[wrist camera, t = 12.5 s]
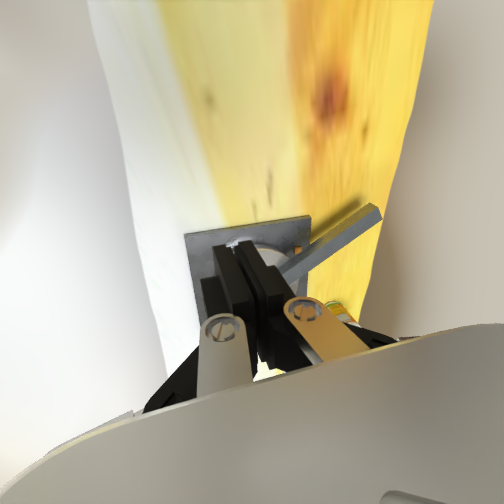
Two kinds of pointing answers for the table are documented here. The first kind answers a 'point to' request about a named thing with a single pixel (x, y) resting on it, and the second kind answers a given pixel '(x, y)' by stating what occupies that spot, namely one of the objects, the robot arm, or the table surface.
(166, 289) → the table surface
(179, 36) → the table surface
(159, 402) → the robot arm
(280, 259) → the grey disc with handle
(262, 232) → the plate
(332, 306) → the supplement bottle
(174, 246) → the table surface
